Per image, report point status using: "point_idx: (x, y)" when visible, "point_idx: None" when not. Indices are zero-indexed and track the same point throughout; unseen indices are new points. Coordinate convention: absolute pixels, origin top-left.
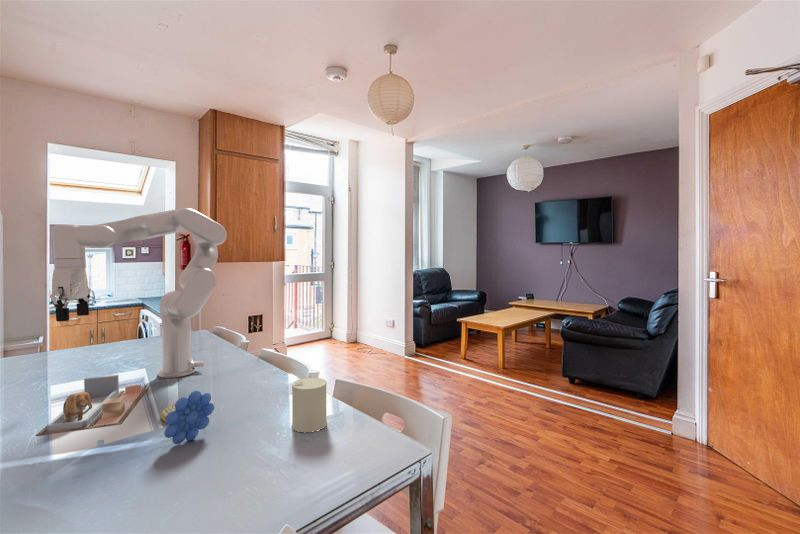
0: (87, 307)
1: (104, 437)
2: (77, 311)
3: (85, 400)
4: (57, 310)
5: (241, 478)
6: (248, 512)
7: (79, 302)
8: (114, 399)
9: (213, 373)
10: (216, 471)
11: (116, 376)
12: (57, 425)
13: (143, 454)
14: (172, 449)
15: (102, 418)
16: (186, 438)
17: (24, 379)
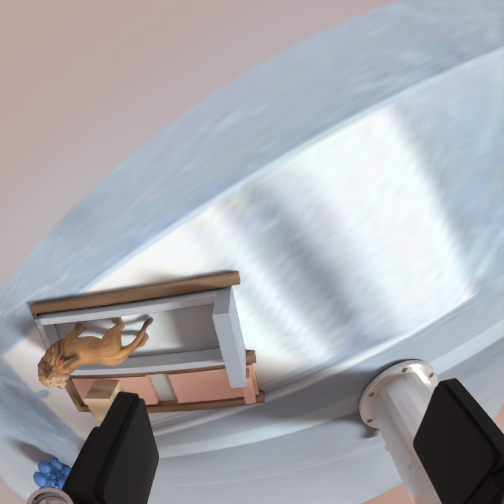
0: (439, 491)
1: (53, 394)
2: (455, 409)
3: (58, 387)
4: (66, 485)
5: (31, 482)
6: (7, 476)
7: (494, 488)
8: (107, 410)
9: (361, 454)
10: (32, 474)
11: (231, 386)
12: (42, 336)
13: (34, 435)
14: (49, 454)
15: (95, 380)
16: (62, 467)
17: (439, 21)
